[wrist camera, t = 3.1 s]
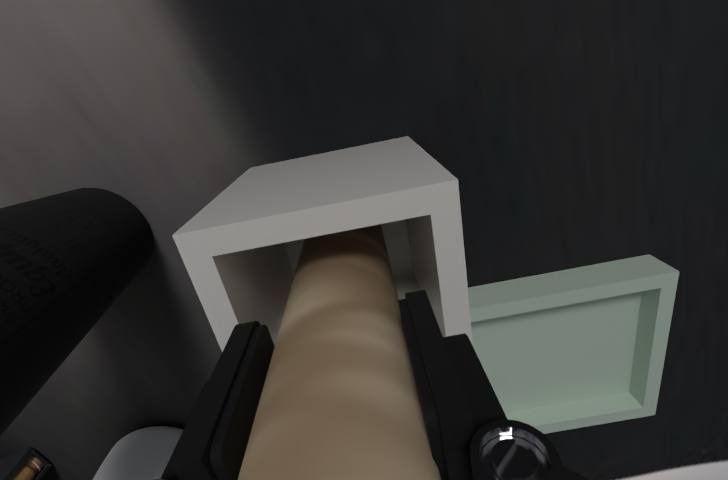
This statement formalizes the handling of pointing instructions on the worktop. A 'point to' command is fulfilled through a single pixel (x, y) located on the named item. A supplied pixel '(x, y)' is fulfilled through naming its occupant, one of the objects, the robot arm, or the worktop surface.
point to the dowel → (340, 374)
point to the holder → (328, 231)
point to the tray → (576, 342)
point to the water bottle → (140, 454)
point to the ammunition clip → (23, 466)
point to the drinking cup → (60, 281)
